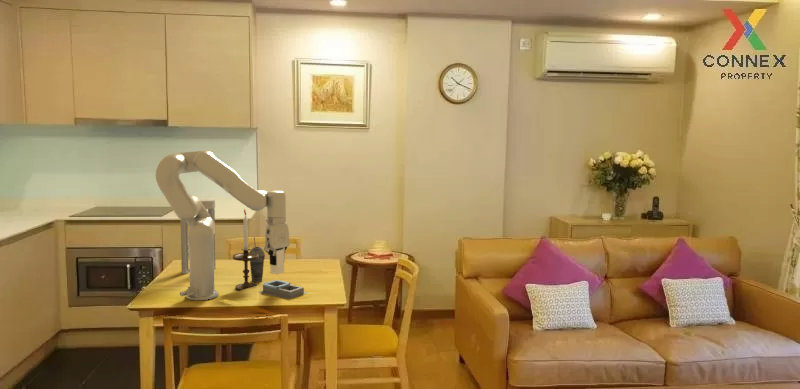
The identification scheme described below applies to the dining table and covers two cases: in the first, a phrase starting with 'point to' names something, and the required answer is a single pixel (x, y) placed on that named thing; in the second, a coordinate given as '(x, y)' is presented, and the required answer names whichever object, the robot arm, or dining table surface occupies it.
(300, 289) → the blue-grey compartment tray
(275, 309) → the dining table surface
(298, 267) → the dining table surface
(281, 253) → the white bottle
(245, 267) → the candlestick
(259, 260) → the beverage cup
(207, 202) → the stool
